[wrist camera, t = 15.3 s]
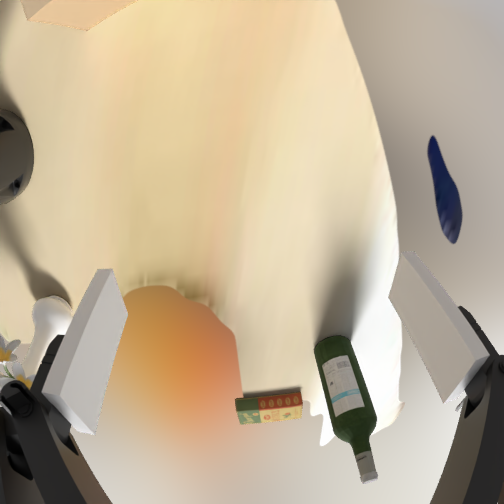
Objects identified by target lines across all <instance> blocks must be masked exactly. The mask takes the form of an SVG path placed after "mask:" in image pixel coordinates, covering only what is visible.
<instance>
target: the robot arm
mask: <svg viewBox="0 0 504 504" xmlns="http://www.w3.org/2000/svg"><path fill="white" fill-rule="evenodd" d="M33 164H34V154H33V146H32V141H31V138H30V135H29V133H28V130H27V128H26V127H25V125H24V123H23V122H22V121H21V120H20V118H19V117H18V116H16V115H15V114H14V113H12V112H10V111H7V110H0V205H2V204H5V203H8V202H10V201H12V200H13V199H15V198H16V197H17V196H18V195H20V194H21V193H22V192H23V191H24V190H25V188H26V187H27V185H28V183H29V181H30V178H31V175H32V171H33ZM388 298H389V299H390V301H391V303H392V305H393V306H394V308H395V310H396V312H397V313H398V315H399V317H400V319H401V321H402V322H403V324H404V326H405V328H406V330H407V332H408V333H409V335H410V337H411V339H412V341H413V343H414V344H415V347H416V348H417V350H418V352H419V354H420V356H421V358H422V360H423V362H424V364H425V366H426V368H427V370H428V372H429V374H430V376H431V378H432V380H433V382H434V384H435V386H436V389H437V391H438V392H439V395H440V397H441V399H442V401H443V403H447V402H449V401H452V400H455V399H457V398H458V397H459V396H460V394H461V393H462V392H463V391H464V390H465V392H466V394H467V396H466V397H465V398H464V399H463V401H462V402H461V403H460V404H459V405H458V406H457V408H456V411H458V410H459V409H460V408H461V407H462V410H461V414H460V418H459V422H458V426H457V430H456V433H455V436H454V440H453V443H452V446H451V449H450V453H449V456H448V459H447V462H446V464H445V467H444V470H443V473H442V475H441V478H440V481H439V483H438V486H437V488H436V491H435V493H434V495H433V498H432V500H431V502H430V504H497V502H498V504H504V355H499V354H498V353H497V351H496V350H495V348H494V347H493V345H492V344H491V342H490V341H489V340H488V338H487V336H486V335H485V334H484V332H483V331H482V330H481V327H480V326H479V325H478V323H476V320H475V319H474V318H473V316H472V315H471V313H470V312H468V311H467V310H466V309H465V308H463V307H462V306H459V307H457V306H456V304H455V303H454V301H453V300H452V299H451V297H450V296H449V295H448V293H447V292H446V291H445V289H444V288H443V287H442V285H440V283H439V282H438V280H437V279H436V278H435V276H434V275H433V274H432V273H431V271H430V270H429V269H428V268H427V266H426V265H425V264H424V263H423V261H422V260H421V259H420V258H419V257H418V255H417V254H416V253H415V252H414V251H411V252H401V254H400V258H399V262H398V266H397V269H396V273H395V277H394V280H393V284H392V287H391V290H390V294H389V297H388ZM127 316H128V313H127V310H126V307H125V305H124V302H123V299H122V296H121V293H120V290H119V287H118V284H117V281H116V278H115V275H114V272H113V269H98V270H97V272H96V273H95V275H94V277H93V279H92V281H91V283H90V285H89V287H88V288H87V290H86V292H85V294H84V296H83V298H82V300H81V302H80V304H79V306H78V308H77V310H76V312H75V314H74V317H73V319H72V321H71V323H70V325H69V327H68V329H67V331H66V334H65V335H59V334H58V335H57V336H56V337H55V338H54V339H53V340H52V341H51V342H50V344H49V346H48V348H47V350H46V352H45V356H44V357H43V359H42V361H41V362H42V364H40V366H39V368H38V371H37V373H36V376H35V378H34V381H33V383H32V386H31V388H30V390H29V388H28V387H27V386H26V385H25V384H24V383H23V382H22V381H20V380H13V381H10V382H8V383H7V384H5V385H4V386H3V388H2V389H1V391H0V404H1V406H2V407H0V504H112V502H111V501H110V499H109V498H108V496H107V495H106V493H105V492H104V490H103V489H102V487H101V486H100V484H99V482H98V481H97V479H96V478H95V476H94V474H93V472H92V471H91V469H90V467H89V466H88V464H87V462H86V460H85V459H84V457H83V455H82V453H81V451H80V449H79V447H78V446H77V444H76V442H75V440H74V438H73V436H72V434H71V433H70V428H71V425H72V426H73V427H74V428H75V429H76V430H77V431H78V432H82V433H88V434H94V435H95V434H96V429H97V424H98V420H99V416H100V411H101V407H102V403H103V399H104V395H105V391H106V387H107V383H108V380H109V376H110V372H111V369H112V365H113V362H114V358H115V355H116V351H117V348H118V345H119V341H120V338H121V335H122V332H123V329H124V325H125V322H126V319H127Z"/></svg>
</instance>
